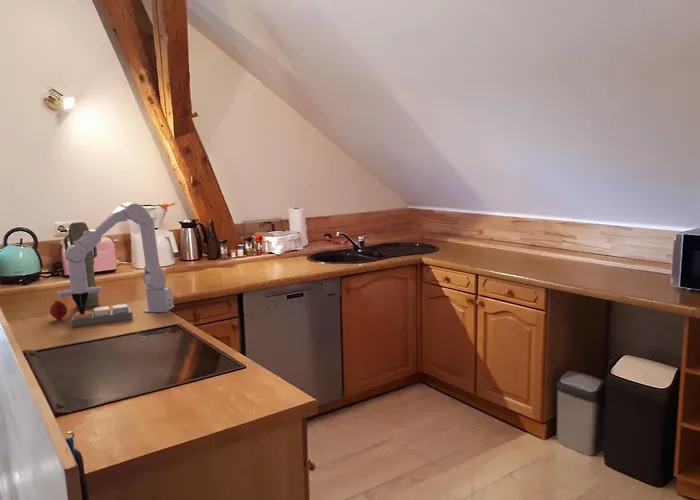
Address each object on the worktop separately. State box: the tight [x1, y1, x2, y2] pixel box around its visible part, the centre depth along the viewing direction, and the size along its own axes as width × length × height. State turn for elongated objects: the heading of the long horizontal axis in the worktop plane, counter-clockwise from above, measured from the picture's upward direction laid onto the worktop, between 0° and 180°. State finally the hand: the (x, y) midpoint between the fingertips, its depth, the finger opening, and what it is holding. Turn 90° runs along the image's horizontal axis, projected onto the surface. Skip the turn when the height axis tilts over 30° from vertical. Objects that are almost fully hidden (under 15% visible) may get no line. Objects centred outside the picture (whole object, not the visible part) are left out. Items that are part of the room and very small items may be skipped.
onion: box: [49, 299, 68, 321], centre depth 220 cm, size 6×6×8 cm
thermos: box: [63, 221, 99, 309], centre depth 237 cm, size 9×12×35 cm
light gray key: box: [112, 303, 129, 314], centre depth 218 cm, size 5×5×3 cm
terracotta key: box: [74, 310, 92, 319], centre depth 213 cm, size 5×5×3 cm
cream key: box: [93, 305, 110, 316], centre depth 216 cm, size 5×5×3 cm
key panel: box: [70, 307, 133, 329], centre depth 216 cm, size 21×8×3 cm, turn 113°
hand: (82, 313), depth 213 cm, fingers closed, pressing on terracotta key
